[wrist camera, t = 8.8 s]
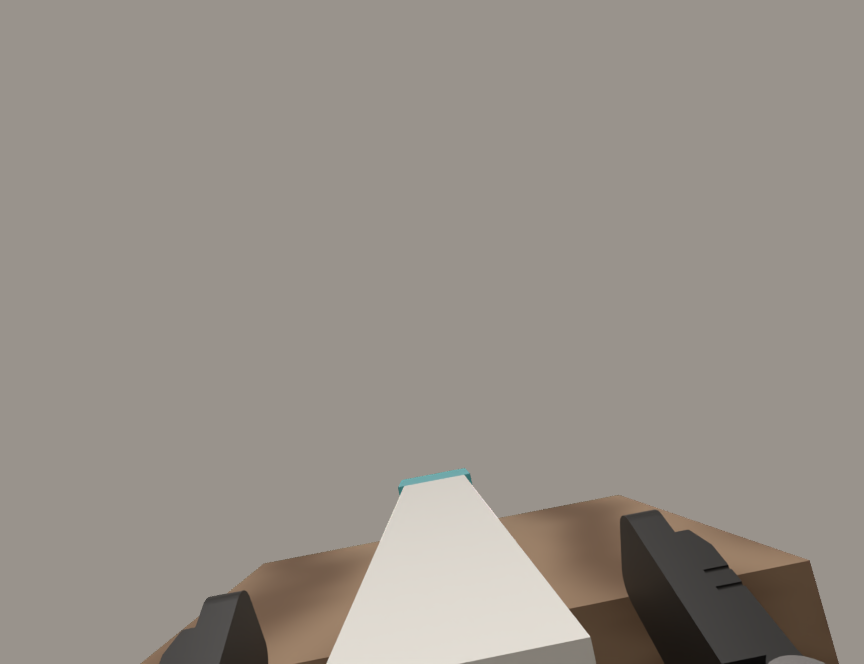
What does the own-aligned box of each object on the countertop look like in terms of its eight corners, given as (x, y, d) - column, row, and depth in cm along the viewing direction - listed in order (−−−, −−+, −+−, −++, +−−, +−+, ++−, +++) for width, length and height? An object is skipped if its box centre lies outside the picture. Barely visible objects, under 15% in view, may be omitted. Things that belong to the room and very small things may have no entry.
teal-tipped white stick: (475, 522, 31) (464, 468, 32) (689, 953, 6) (618, 631, 6) (411, 535, 31) (402, 480, 32) (328, 1035, 5) (284, 698, 6)
